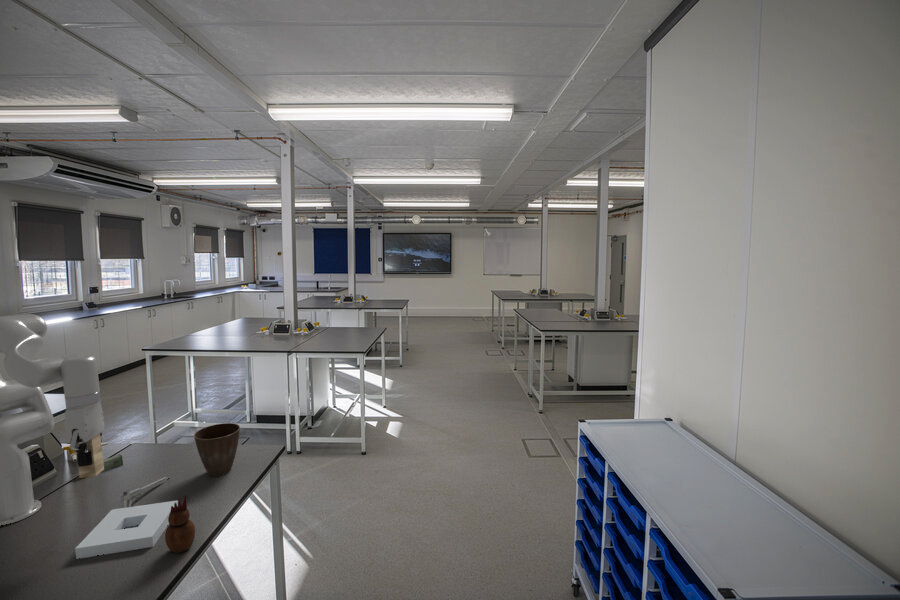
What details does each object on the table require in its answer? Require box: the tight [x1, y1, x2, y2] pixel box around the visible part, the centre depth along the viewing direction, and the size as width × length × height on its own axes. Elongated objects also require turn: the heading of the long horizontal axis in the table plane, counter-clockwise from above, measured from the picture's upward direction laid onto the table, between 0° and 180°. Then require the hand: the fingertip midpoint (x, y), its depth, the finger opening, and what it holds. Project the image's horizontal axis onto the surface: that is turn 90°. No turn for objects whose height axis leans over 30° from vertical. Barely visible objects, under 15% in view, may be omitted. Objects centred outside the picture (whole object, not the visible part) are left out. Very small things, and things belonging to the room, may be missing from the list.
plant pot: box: [193, 422, 241, 477], centre depth 155 cm, size 15×15×16 cm
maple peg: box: [77, 433, 104, 479], centre depth 119 cm, size 4×4×12 cm
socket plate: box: [74, 499, 178, 560], centre depth 121 cm, size 18×18×3 cm
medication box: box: [84, 454, 124, 479], centre depth 158 cm, size 12×3×4 cm, turn 146°
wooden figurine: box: [164, 494, 196, 554], centre depth 113 cm, size 7×6×15 cm
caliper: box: [120, 476, 169, 508], centre depth 141 cm, size 20×1×6 cm, turn 179°
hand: (90, 461), depth 119 cm, fingers closed on maple peg, 4 cm apart
